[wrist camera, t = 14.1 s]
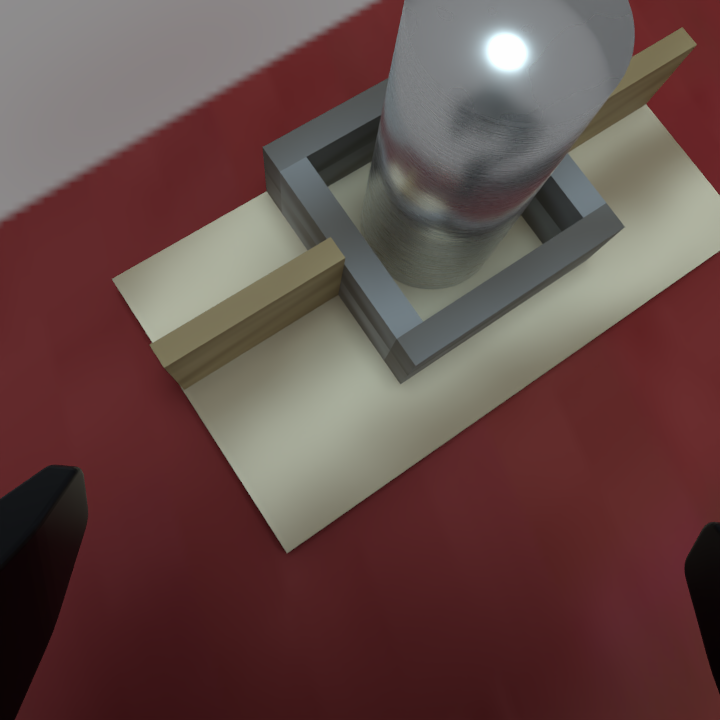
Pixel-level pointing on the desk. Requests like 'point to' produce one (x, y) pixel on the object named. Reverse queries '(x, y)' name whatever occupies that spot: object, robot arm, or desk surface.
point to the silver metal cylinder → (482, 123)
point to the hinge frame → (407, 300)
